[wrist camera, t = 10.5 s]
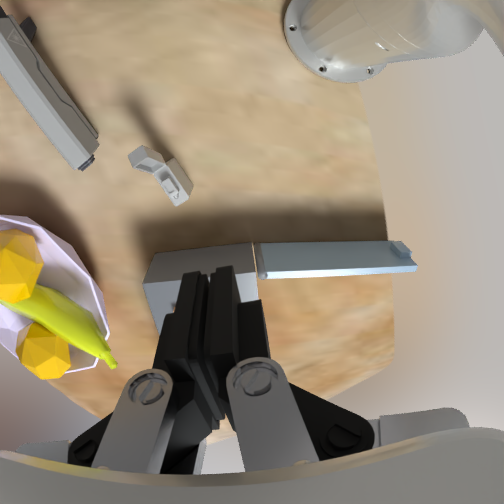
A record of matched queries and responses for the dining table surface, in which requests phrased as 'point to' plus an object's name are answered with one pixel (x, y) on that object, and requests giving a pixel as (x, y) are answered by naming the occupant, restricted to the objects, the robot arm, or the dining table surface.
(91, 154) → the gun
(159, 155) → the pale grey angled bracket
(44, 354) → the fruit bowl
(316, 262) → the side door
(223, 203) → the dining table surface
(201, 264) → the grey block
